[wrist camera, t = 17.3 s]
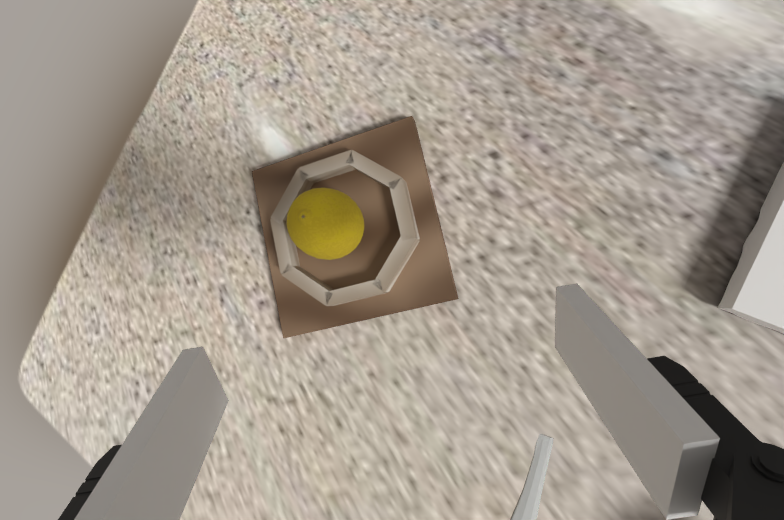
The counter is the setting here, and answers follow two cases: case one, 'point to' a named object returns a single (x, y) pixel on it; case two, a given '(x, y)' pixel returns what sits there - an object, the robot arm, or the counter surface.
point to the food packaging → (761, 266)
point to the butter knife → (534, 481)
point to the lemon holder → (380, 237)
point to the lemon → (325, 223)
